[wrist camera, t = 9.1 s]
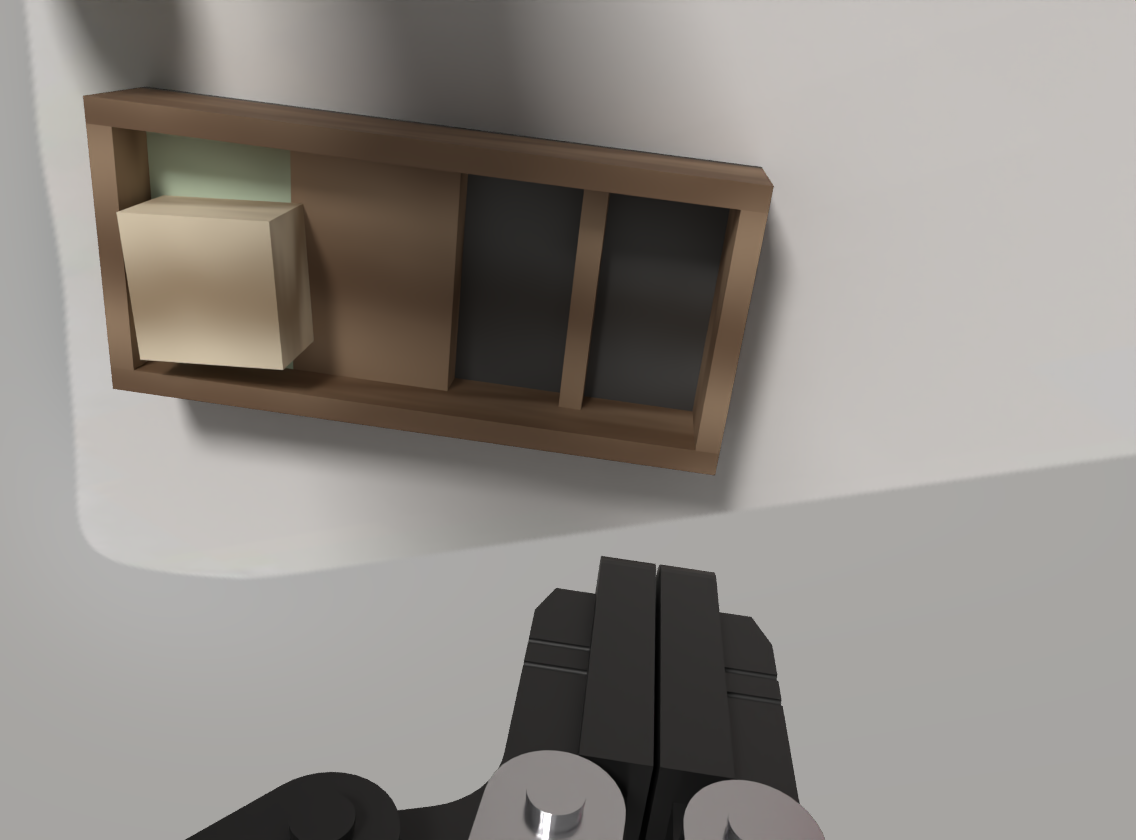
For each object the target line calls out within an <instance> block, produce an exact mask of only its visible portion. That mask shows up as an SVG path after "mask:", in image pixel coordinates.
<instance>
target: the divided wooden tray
mask: <svg viewBox="0 0 1136 840" xmlns="http://www.w3.org/2000/svg"><path fill="white" fill-rule="evenodd" d="M83 99H84V109H85V119H86V129H87V138H88V148H89V158H90V168H91V178H92V187H93V197H94V207H95V217H96V227H97V236H98V246H99V256H100V266H101V276H102V285H103V295H104V305H105V315H106V325H107V334H108V344H109V354H110V364H111V374H112V383H113V389H118V390H125V391H132V392H139V393H146V394H153V395H160V396H167V397H174V398H181V399H188V400H195V401H202V402H209V403H216V404H223V405H230V406H237V407H244V408H251V409H258V410H264V411H271V412H278V413H285V414H292V415H299V416H306V417H313V418H320V419H327V420H334V421H341V422H348V423H355V424H362V425H369V426H376V427H383V428H390V429H397V430H403V431H410V432H417V433H424V434H431V435H438V436H445V437H452V438H459V439H466V440H473V441H480V442H487V443H494V444H501V445H508V446H515V447H522V448H529V449H536V450H543V451H549V452H556V453H563V454H570V455H577V456H584V457H591V458H598V459H605V460H612V461H619V462H626V463H633V464H640V465H647V466H654V467H661V468H668V469H675V470H682V471H688V472H695V473H702V474H709V475H715V473H716V468H717V463H718V458H719V453H720V448H721V443H722V438H723V433H724V428H725V423H726V418H727V414H728V409H729V404H730V399H731V394H732V389H733V384H734V379H735V374H736V369H737V364H738V359H739V354H740V349H741V345H742V340H743V335H744V330H745V325H746V320H747V315H748V310H749V305H750V300H751V295H752V290H753V285H754V281H755V276H756V271H757V266H758V261H759V256H760V251H761V246H762V241H763V236H764V231H765V226H766V221H767V216H768V212H769V207H770V202H771V197H772V192H773V187H774V186H773V184H772V183H771V181H770V180H769V178H768V176H767V175H766V173H765V172H764V170H763V169H762V167H757V166H749V165H741V164H734V163H726V162H718V161H711V160H703V159H695V158H688V157H680V156H672V155H664V154H657V153H649V152H641V151H634V150H626V149H618V148H611V147H603V146H595V145H588V144H580V143H572V142H565V141H557V140H549V139H542V138H534V137H526V136H518V135H511V134H503V133H495V132H488V131H480V130H472V129H465V128H457V127H449V126H442V125H434V124H426V123H419V122H411V121H403V120H396V119H388V118H380V117H372V116H365V115H357V114H349V113H342V112H334V111H326V110H319V109H311V108H303V107H296V106H288V105H280V104H273V103H265V102H257V101H249V100H242V99H234V98H226V97H219V96H211V95H203V94H196V93H188V92H180V91H173V90H165V89H157V88H150V87H140V88H133V89H127V90H120V91H113V92H106V93H99V94H92V95H85V96H83ZM162 195H168V196H185V197H202V198H219V199H236V200H253V201H270V202H287V203H303V209H304V222H305V235H306V247H307V260H308V273H309V285H310V298H311V310H312V323H313V336H314V341H313V342H312V343H311V344H310V345H309V346H308V347H307V348H306V349H305V350H304V351H303V352H302V353H300V354H299V355H298V356H297V357H296V358H295V359H294V360H293V361H292V362H291V363H290V364H289V365H288V366H287V367H286V368H285V369H284V370H277V369H263V368H250V367H236V366H222V365H208V364H194V363H180V362H166V361H152V360H140V354H139V348H138V342H137V336H136V330H135V324H134V317H133V311H132V305H131V299H130V293H129V287H128V281H127V274H126V268H125V262H124V256H123V250H122V244H121V238H120V231H119V225H118V219H117V213H116V212H119V211H121V210H124V209H127V208H130V207H132V206H135V205H138V204H141V203H143V202H146V201H149V200H151V199H154V198H157V197H160V196H162Z"/></svg>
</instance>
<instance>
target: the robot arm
mask: <svg viewBox="0 0 1136 840" xmlns="http://www.w3.org/2000/svg"><path fill="white" fill-rule="evenodd" d="M186 840H825V838H824V835H823V832H822V831H821V829H820V827H819V826H818V824H817V823H816V821H815V820H814V819H813V817H812V816H811V815H810V814H809V812H808V811H806V810H805V809H804V808H803V807H802V806H801V805H800V803H799V799H798V793H797V788H796V781H795V775H794V770H793V764H792V758H791V753H790V746H789V741H788V735H787V729H786V723H785V717H784V712H783V706H781V695H780V688H779V682H778V681H777V672H776V665H775V659H774V653H773V648H772V644H771V643H770V642H769V640H768V639H767V638H766V636H765V635H764V634H763V632H762V631H761V630H760V628H759V627H758V625H757V624H756V623H755V621H754V620H753V619H752V617H748V616H741V615H734V614H728V613H720V612H719V604H718V593H717V582H716V575H715V573H714V572H707V571H700V570H694V569H687V568H680V567H673V566H666V565H659V567H658V571H657V575H656V565H655V564H652V563H645V562H638V561H631V560H624V559H618V558H611V557H605V556H601V560H600V566H599V573H598V580H597V587H596V593H595V594H593V593H586V592H579V591H573V590H566V589H559V588H556V589H555V590H554V591H553V592H552V593H551V594H550V595H549V596H548V597H547V598H546V599H545V600H544V601H543V602H542V603H541V604H540V605H539V606H538V607H537V608H536V609H535V612H534V617H533V622H532V626H531V631H530V636H529V642H528V645H527V650H526V655H525V659H524V665H523V669H522V673H521V678H520V683H519V687H518V692H517V697H516V701H515V706H514V711H513V715H512V720H511V725H510V729H509V734H508V739H507V743H506V748H505V753H504V756H503V759H502V762H501V764H500V766H499V768H498V769H497V770H496V771H495V772H494V774H493V775H492V777H491V778H490V779H489V781H488V782H487V783H486V784H484V785H483V786H482V787H481V788H480V789H478V790H477V791H475V792H473V793H472V794H470V795H468V796H466V797H464V798H462V799H459V800H457V801H454V802H450V803H448V804H442V805H437V806H431V807H423V808H414V809H406V810H398V811H397V808H396V806H395V804H394V802H393V801H392V799H391V798H390V797H389V795H388V794H387V793H386V792H385V791H384V790H382V789H381V788H380V787H379V786H378V785H376V784H375V783H373V782H371V781H369V780H368V779H365V778H362V777H360V776H357V775H352V774H347V773H339V772H326V773H316V774H311V775H306V776H303V777H300V778H297V779H294V780H292V781H290V782H288V783H285V784H283V785H281V786H279V787H278V788H276V789H274V790H273V791H271V792H269V793H267V794H265V795H264V796H262V797H260V798H258V799H256V800H255V801H253V802H251V803H249V804H248V805H246V806H244V807H243V808H240V809H239V810H237V811H235V812H233V813H232V814H230V815H228V816H226V817H225V818H223V819H221V820H219V821H218V822H216V823H214V824H212V825H210V826H209V827H207V828H205V829H203V830H202V831H200V832H198V833H196V834H195V835H193V836H191V837H189V838H187V839H186Z"/></svg>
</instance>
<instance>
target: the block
mask: <svg viewBox="0 0 1136 840" xmlns="http://www.w3.org/2000/svg"><path fill="white" fill-rule="evenodd" d="M116 213H117V219H118V225H119V231H120V238H121V244H122V250H123V256H124V262H125V268H126V274H127V281H128V287H129V293H130V299H131V305H132V311H133V317H134V324H135V330H136V336H137V342H138V348H139V354H140V360H152V361H166V362H180V363H194V364H208V365H222V366H236V367H250V368H263V369H277V370H284V369H285V368H286V367H287V366H288V365H289V364H290V363H291V362H292V361H293V360H294V359H295V358H296V357H297V356H298V355H299V354H300V353H302V352H303V351H304V350H305V349H306V348H307V347H308V346H309V345H310V344H311V343H312V342H313V341H314V336H313V323H312V310H311V298H310V285H309V273H308V260H307V247H306V235H305V222H304V209H303V203H287V202H270V201H253V200H236V199H219V198H202V197H185V196H168V195H162V196H160V197H157V198H154V199H151V200H149V201H146V202H143V203H141V204H138V205H135V206H132V207H130V208H127V209H124V210H121V211H119V212H116Z"/></svg>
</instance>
